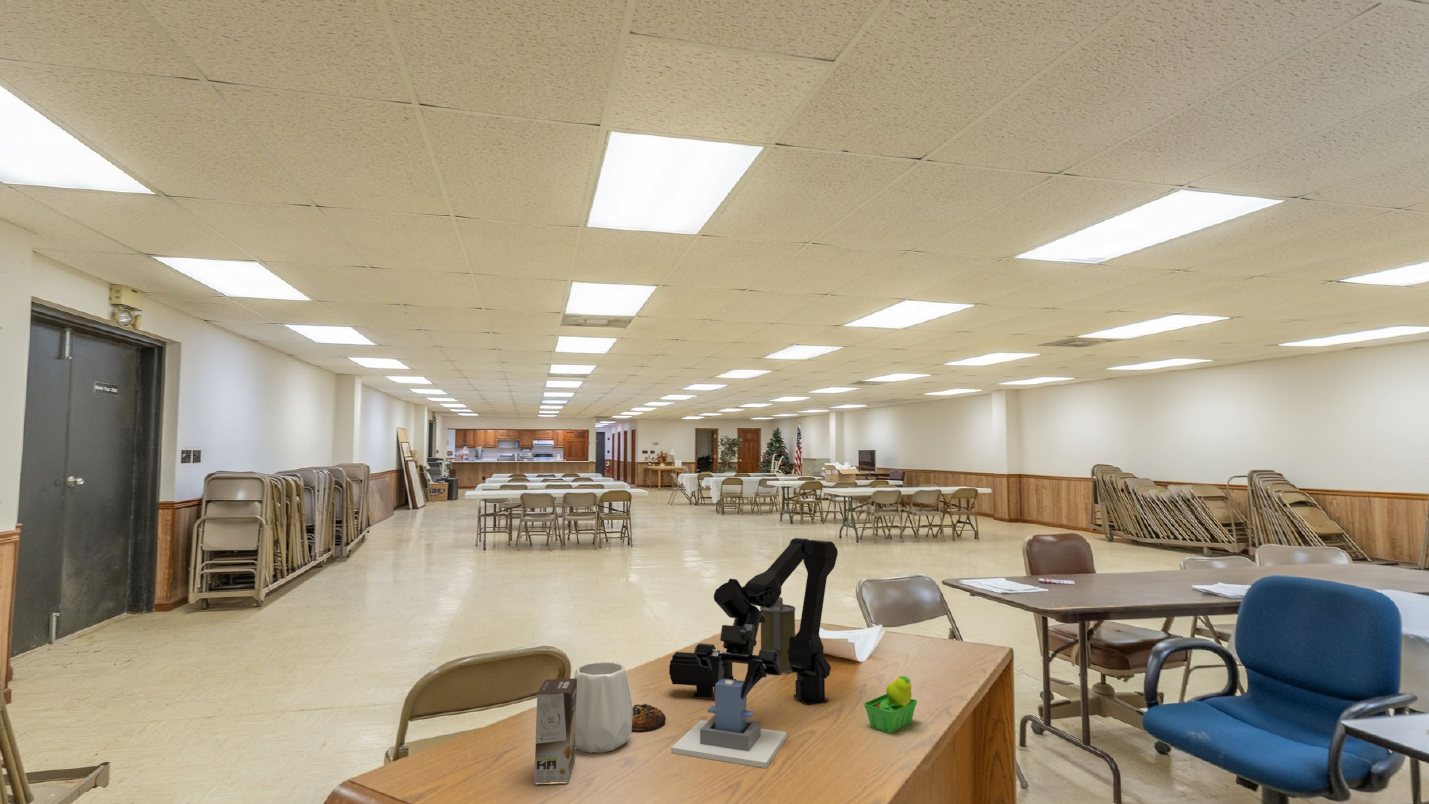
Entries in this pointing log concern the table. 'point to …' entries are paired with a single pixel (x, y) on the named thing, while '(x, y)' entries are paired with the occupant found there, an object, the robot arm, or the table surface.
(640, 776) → the table surface
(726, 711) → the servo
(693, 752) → the plate
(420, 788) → the table surface
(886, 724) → the fruit basket
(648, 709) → the bread roll
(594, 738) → the vase
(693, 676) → the security camera
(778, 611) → the canister
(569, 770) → the coffee box
